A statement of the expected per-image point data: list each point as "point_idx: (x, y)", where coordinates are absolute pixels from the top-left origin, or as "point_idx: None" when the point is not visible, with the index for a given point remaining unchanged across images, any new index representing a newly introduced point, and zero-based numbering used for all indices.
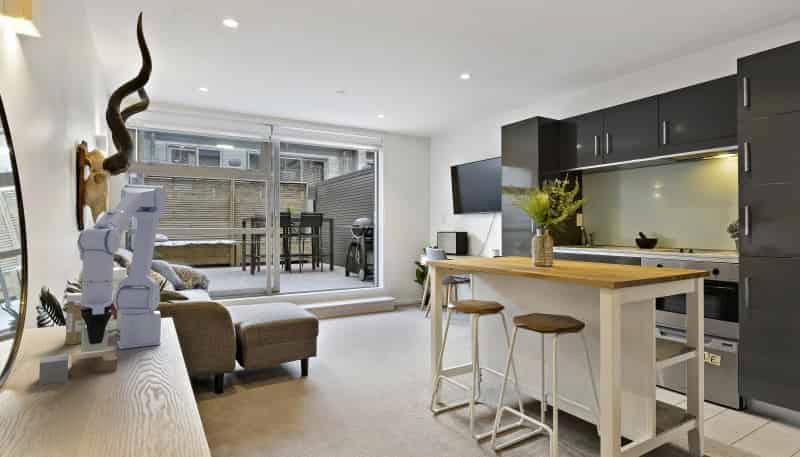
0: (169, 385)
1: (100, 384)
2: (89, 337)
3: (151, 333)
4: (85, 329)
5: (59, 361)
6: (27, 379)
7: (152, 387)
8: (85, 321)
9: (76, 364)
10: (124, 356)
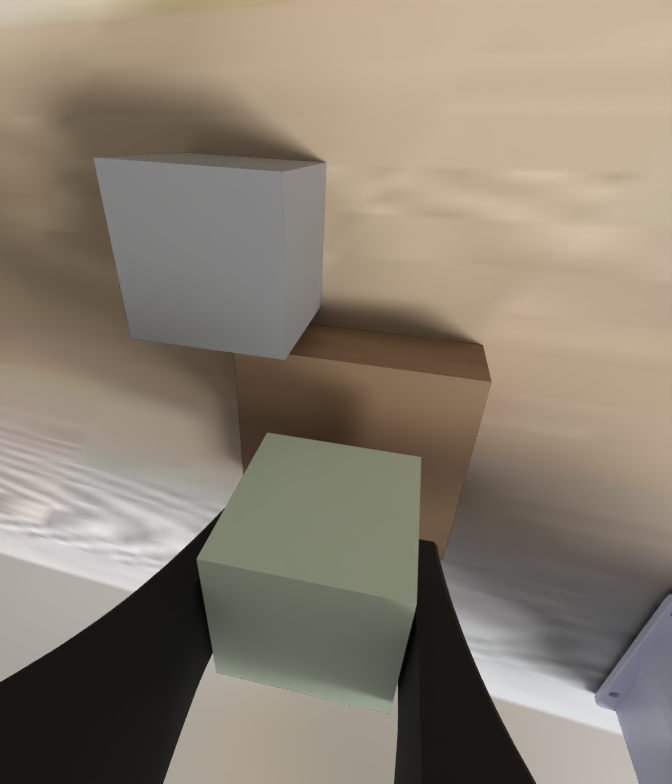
0: (18, 532)
1: (91, 393)
2: (190, 542)
3: (653, 753)
4: (304, 596)
5: (122, 288)
6: (352, 81)
7: (10, 498)
8: (8, 677)
9: (236, 366)
10: (501, 561)
